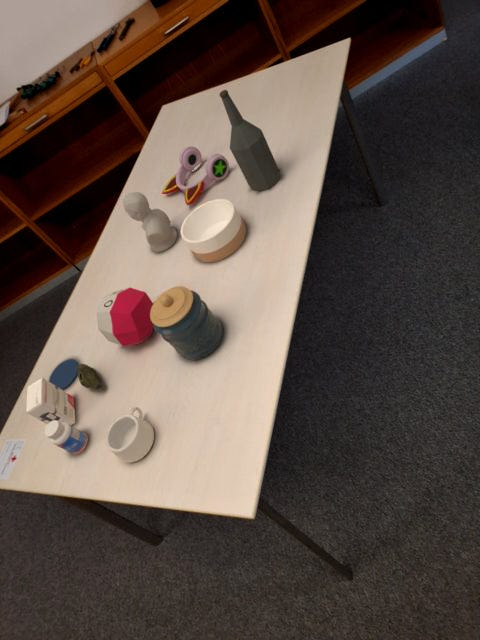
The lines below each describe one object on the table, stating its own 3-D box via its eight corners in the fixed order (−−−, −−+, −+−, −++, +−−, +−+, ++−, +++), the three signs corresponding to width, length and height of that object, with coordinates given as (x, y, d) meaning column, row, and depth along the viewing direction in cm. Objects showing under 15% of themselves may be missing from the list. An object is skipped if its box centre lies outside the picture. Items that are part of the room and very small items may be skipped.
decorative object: (132, 311, 105) (78, 309, 109) (148, 358, 114) (97, 354, 118) (156, 278, 117) (106, 277, 121) (169, 323, 125) (122, 321, 129)
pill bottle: (69, 458, 107) (39, 443, 100) (70, 438, 110) (42, 422, 103) (88, 449, 106) (59, 434, 99) (89, 429, 109) (61, 413, 102)
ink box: (59, 405, 119) (26, 385, 111) (74, 396, 118) (42, 376, 110) (60, 432, 113) (24, 413, 105) (76, 422, 113) (41, 403, 104)
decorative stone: (75, 393, 119) (62, 385, 115) (86, 368, 123) (74, 359, 119) (105, 394, 114) (93, 385, 110) (116, 368, 118) (104, 358, 114)
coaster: (48, 396, 123) (47, 396, 123) (52, 368, 130) (50, 367, 129) (77, 383, 121) (76, 382, 121) (80, 355, 128) (78, 354, 127)
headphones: (224, 149, 144) (178, 184, 139) (234, 176, 151) (190, 209, 146) (192, 141, 157) (149, 172, 152) (203, 165, 164) (161, 196, 159)
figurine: (152, 259, 140) (114, 215, 126) (152, 234, 148) (116, 190, 134) (178, 247, 138) (142, 201, 124) (176, 223, 146) (143, 176, 132)
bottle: (270, 166, 142) (229, 77, 120) (286, 175, 135) (246, 83, 114) (245, 185, 142) (200, 99, 120) (260, 196, 135) (215, 107, 113)
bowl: (237, 210, 135) (225, 189, 129) (253, 241, 124) (241, 220, 118) (189, 239, 138) (175, 219, 132) (201, 272, 126) (186, 252, 120)
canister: (219, 309, 114) (185, 265, 101) (228, 348, 105) (191, 304, 93) (176, 330, 116) (137, 289, 104) (181, 369, 108) (139, 330, 95)
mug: (149, 464, 96) (132, 454, 91) (114, 463, 100) (97, 454, 96) (162, 412, 102) (148, 401, 98) (129, 413, 107) (114, 403, 102)
